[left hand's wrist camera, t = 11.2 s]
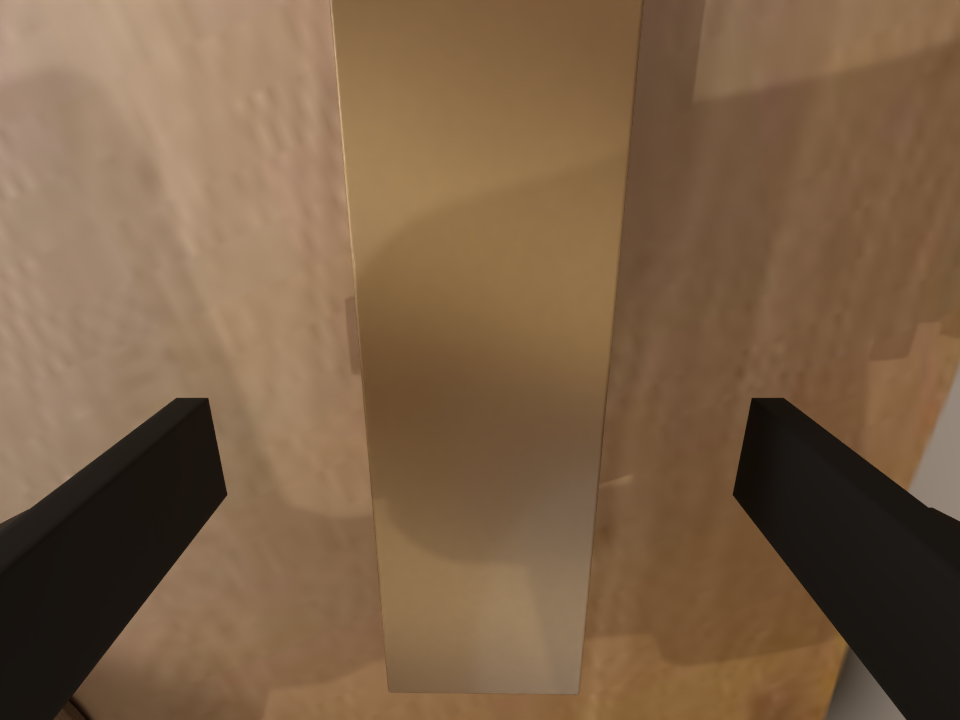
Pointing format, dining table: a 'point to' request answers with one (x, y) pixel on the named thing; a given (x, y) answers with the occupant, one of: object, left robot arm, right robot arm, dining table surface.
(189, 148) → the dining table surface
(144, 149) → the dining table surface
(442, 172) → the bar
